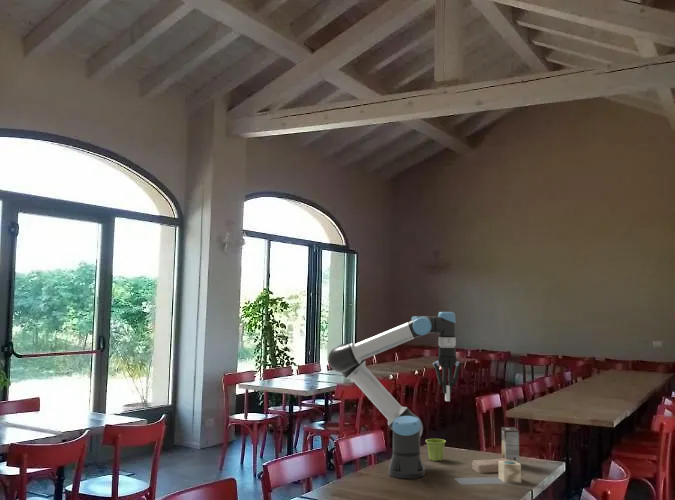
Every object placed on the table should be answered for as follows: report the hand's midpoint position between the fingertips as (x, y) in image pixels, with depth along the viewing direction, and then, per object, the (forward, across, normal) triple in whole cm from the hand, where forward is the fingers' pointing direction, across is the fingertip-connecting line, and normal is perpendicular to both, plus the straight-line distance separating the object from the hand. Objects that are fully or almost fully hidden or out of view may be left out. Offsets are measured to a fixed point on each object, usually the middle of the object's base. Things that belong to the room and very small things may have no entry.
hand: (447, 400), depth 307 cm
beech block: (+22, +20, -22) cm, 37 cm away
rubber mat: (+29, +11, -22) cm, 38 cm away
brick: (+30, +19, -5) cm, 36 cm away
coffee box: (+30, +30, +5) cm, 42 cm away
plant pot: (+30, -1, +18) cm, 35 cm away
